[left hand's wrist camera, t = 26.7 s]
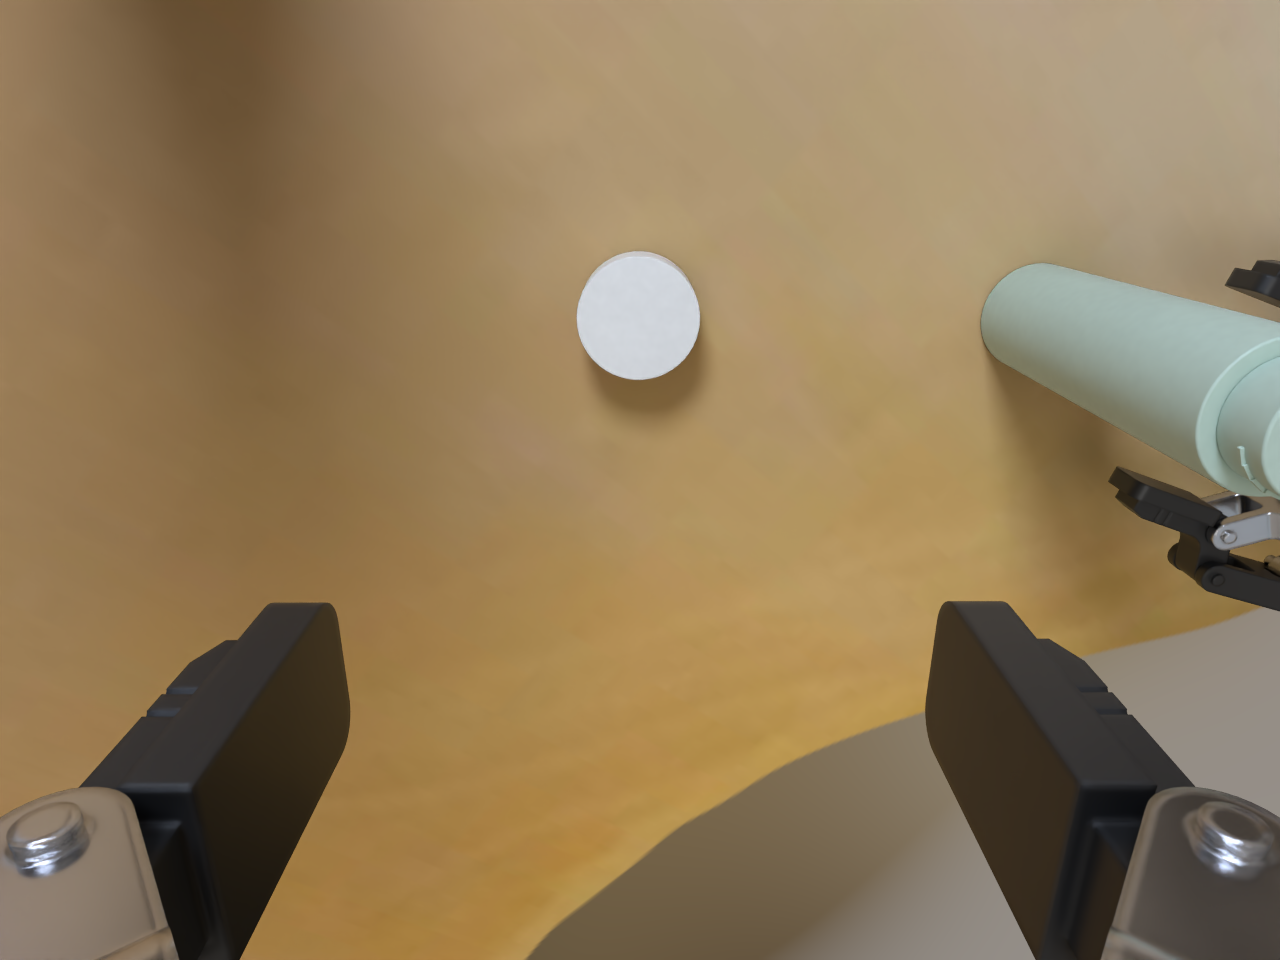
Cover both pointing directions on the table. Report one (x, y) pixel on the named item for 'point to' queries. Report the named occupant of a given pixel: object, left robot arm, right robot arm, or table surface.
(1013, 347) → the jar
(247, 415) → the table surface
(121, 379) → the table surface
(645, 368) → the lid
